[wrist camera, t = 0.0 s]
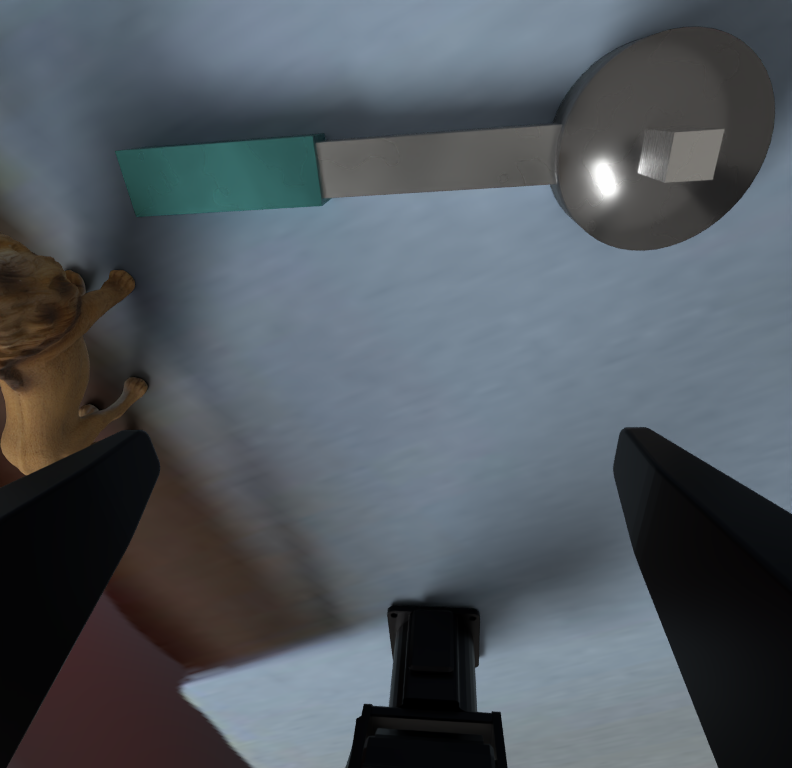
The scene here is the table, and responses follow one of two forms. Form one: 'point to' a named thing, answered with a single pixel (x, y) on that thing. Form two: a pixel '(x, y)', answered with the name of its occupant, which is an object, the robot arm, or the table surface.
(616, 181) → the ratchet
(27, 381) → the lion figurine
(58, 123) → the table surface
